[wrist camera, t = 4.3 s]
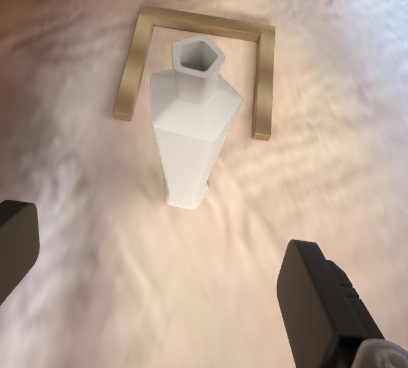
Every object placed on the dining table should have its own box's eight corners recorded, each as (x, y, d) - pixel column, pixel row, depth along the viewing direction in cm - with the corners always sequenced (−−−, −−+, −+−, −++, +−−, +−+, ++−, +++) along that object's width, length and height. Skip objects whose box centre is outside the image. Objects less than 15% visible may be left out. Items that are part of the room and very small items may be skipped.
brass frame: (267, 141, 28) (271, 135, 28) (114, 118, 28) (112, 112, 27) (272, 33, 33) (275, 26, 33) (142, 12, 33) (141, 4, 32)
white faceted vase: (176, 154, 27) (178, -5, 13) (219, 180, 27) (268, 43, 13) (145, 195, 26) (110, 64, 12) (190, 224, 25) (210, 122, 11)
